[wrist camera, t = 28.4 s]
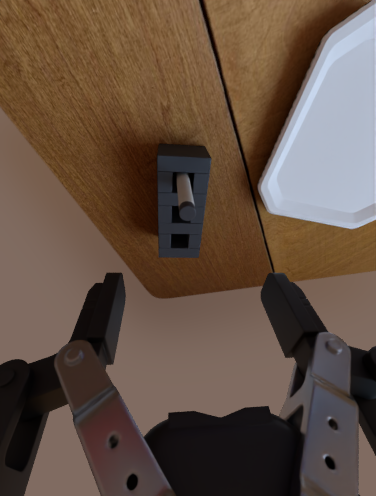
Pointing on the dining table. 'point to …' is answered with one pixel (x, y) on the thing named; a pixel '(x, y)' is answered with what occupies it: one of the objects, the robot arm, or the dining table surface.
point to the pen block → (169, 222)
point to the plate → (330, 133)
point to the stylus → (185, 197)
